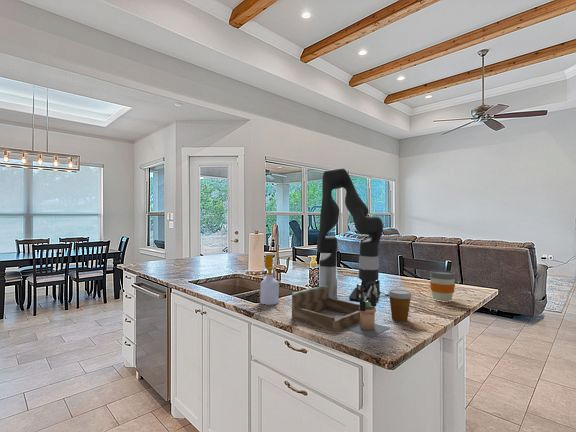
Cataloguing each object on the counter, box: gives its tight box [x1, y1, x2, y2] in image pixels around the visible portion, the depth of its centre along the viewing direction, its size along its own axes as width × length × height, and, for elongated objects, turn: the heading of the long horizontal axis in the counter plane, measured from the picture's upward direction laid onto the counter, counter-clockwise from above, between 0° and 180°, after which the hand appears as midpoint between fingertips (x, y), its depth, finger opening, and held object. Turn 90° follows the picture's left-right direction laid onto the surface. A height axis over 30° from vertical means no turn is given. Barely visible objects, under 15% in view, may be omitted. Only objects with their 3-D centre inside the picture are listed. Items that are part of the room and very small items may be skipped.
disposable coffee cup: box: [387, 288, 412, 323], centre depth 137 cm, size 10×10×12 cm
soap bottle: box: [259, 253, 280, 306], centre depth 160 cm, size 9×9×25 cm
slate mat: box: [344, 321, 391, 338], centre depth 125 cm, size 14×12×1 cm
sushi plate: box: [349, 287, 389, 302], centre depth 175 cm, size 29×30×4 cm
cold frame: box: [291, 285, 360, 333], centre depth 137 cm, size 24×23×11 cm
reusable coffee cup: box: [429, 269, 456, 301], centre depth 170 cm, size 13×13×15 cm
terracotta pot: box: [359, 301, 377, 331], centre depth 125 cm, size 6×6×11 cm
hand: (368, 308), depth 125 cm, fingers open, 8 cm apart
